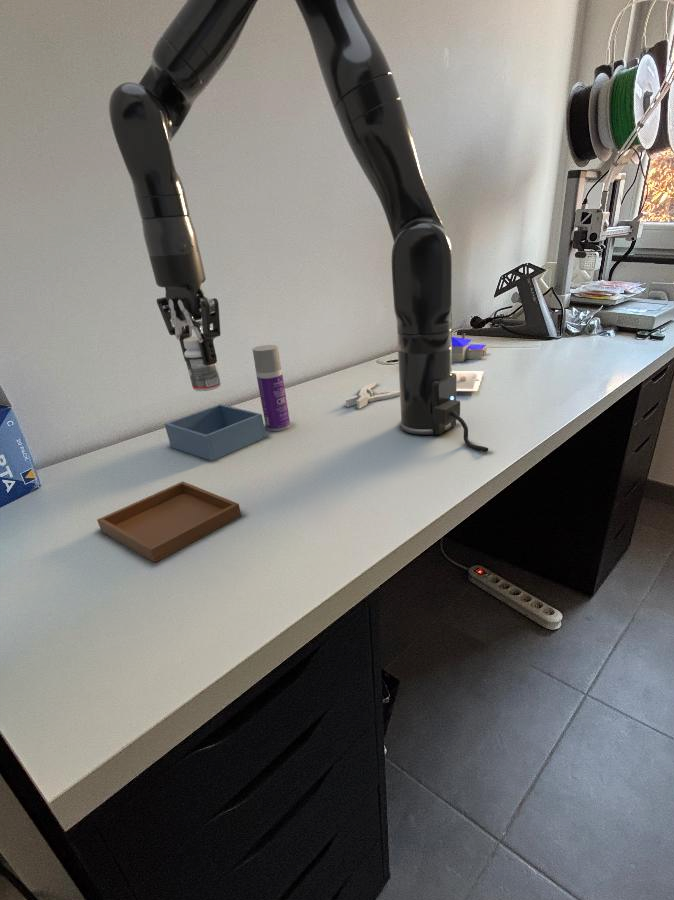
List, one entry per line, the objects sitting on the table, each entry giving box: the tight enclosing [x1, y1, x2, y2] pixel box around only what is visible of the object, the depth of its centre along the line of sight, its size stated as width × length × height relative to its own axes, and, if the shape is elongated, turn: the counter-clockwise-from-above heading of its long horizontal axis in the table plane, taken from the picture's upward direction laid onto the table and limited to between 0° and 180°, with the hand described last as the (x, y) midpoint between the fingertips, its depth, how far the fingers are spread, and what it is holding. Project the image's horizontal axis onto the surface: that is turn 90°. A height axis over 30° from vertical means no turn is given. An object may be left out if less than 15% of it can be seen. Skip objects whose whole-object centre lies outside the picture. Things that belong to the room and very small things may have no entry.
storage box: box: [164, 403, 267, 462], centre depth 96 cm, size 12×12×4 cm
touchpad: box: [452, 370, 484, 392], centre depth 118 cm, size 8×15×2 cm, turn 166°
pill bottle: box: [183, 335, 222, 392], centre depth 90 cm, size 5×5×8 cm
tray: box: [96, 480, 242, 563], centre depth 71 cm, size 13×13×2 cm
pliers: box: [345, 381, 400, 409], centre depth 114 cm, size 10×2×15 cm
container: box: [252, 344, 291, 432], centre depth 98 cm, size 5×5×15 cm
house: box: [452, 333, 488, 363], centre depth 137 cm, size 11×14×6 cm
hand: (201, 362), depth 90 cm, fingers closed on pill bottle, 4 cm apart
